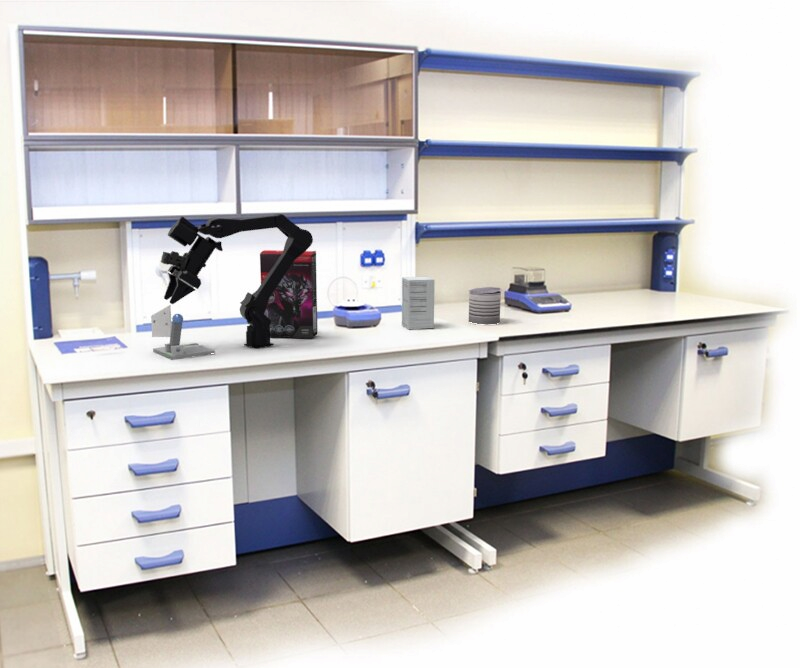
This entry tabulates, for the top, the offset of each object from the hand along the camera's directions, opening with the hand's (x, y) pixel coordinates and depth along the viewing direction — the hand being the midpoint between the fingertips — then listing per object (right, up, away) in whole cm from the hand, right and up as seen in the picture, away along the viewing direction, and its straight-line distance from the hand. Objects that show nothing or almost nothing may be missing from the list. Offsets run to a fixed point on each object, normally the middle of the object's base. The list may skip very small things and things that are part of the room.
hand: (168, 301), depth 242 cm
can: (+96, -5, +57) cm, 112 cm away
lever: (+3, -13, -3) cm, 14 cm away
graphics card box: (+31, -10, +28) cm, 43 cm away
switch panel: (+4, -15, +3) cm, 16 cm away
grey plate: (-9, -10, +28) cm, 31 cm away
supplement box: (+72, -7, +47) cm, 86 cm away
